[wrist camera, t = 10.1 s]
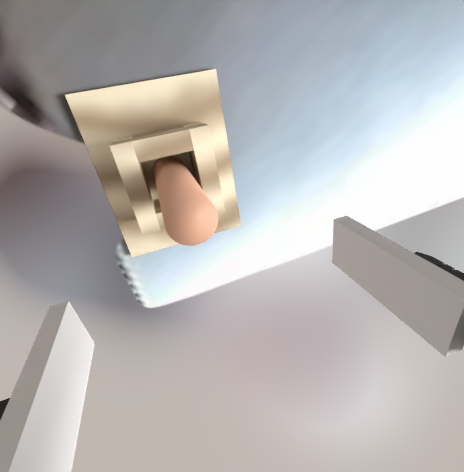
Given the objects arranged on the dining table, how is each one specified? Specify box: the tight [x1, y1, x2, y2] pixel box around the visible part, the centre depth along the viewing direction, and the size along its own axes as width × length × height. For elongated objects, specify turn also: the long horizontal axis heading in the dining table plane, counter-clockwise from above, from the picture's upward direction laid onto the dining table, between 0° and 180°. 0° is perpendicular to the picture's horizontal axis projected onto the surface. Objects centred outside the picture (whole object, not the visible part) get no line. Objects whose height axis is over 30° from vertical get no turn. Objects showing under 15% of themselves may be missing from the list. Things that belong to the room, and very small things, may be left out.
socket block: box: [65, 69, 241, 257], centre depth 32 cm, size 20×16×6 cm
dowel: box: [154, 156, 218, 245], centre depth 27 cm, size 4×4×16 cm
